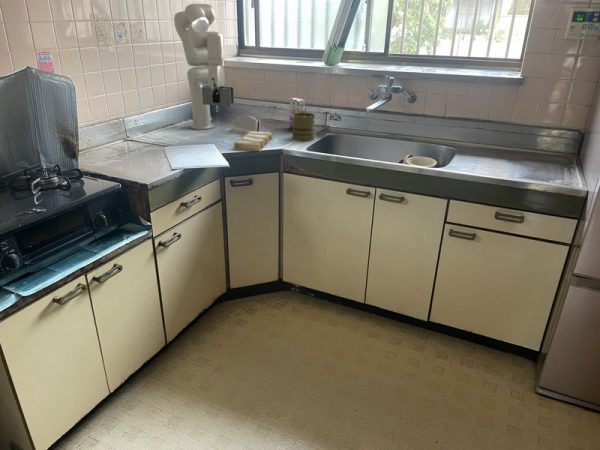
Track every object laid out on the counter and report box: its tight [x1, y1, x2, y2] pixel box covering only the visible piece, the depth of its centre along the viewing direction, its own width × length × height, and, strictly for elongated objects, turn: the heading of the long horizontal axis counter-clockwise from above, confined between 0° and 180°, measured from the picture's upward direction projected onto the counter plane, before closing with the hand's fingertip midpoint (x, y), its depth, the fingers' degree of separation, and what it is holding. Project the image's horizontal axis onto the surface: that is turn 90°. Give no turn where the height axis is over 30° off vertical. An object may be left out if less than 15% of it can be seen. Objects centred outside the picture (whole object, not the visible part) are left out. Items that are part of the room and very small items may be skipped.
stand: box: [233, 131, 274, 152], centre depth 216 cm, size 24×12×3 cm, turn 168°
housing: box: [202, 86, 235, 107], centre depth 213 cm, size 5×14×8 cm, turn 78°
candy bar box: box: [289, 97, 307, 130], centre depth 242 cm, size 11×5×16 cm, turn 25°
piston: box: [291, 112, 316, 142], centre depth 226 cm, size 11×12×11 cm
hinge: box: [230, 114, 262, 135], centre depth 236 cm, size 17×5×10 cm, turn 53°
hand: (218, 101), depth 214 cm, fingers closed on housing, 5 cm apart
